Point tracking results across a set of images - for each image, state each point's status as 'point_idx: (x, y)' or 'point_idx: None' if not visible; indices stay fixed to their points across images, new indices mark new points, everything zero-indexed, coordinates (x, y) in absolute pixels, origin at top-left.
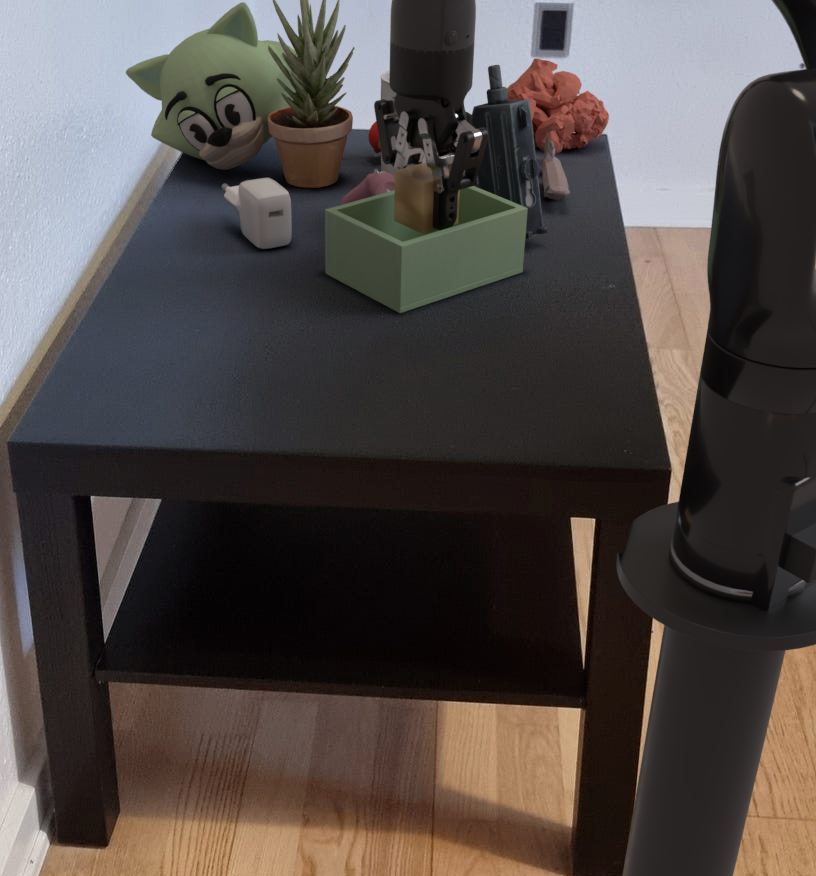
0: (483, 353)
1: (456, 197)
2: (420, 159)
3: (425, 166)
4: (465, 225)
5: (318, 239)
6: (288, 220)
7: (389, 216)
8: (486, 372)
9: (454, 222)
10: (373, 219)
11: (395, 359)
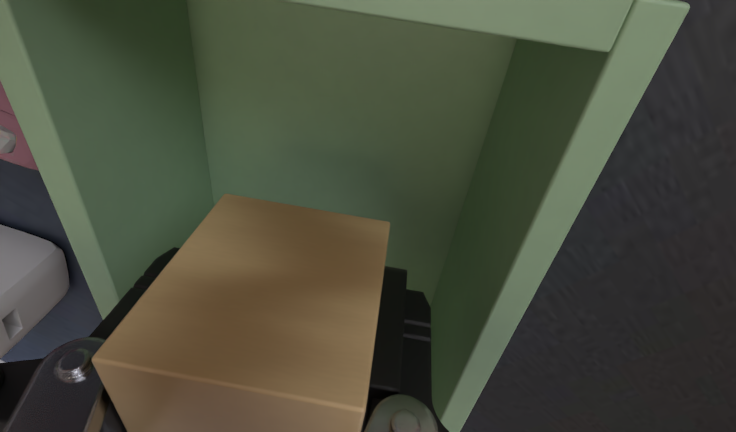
0: (652, 356)
1: (429, 386)
2: (97, 427)
3: (163, 415)
4: (499, 337)
5: (43, 185)
6: (24, 290)
7: (157, 233)
8: (683, 391)
9: (423, 296)
10: None
11: (527, 412)
